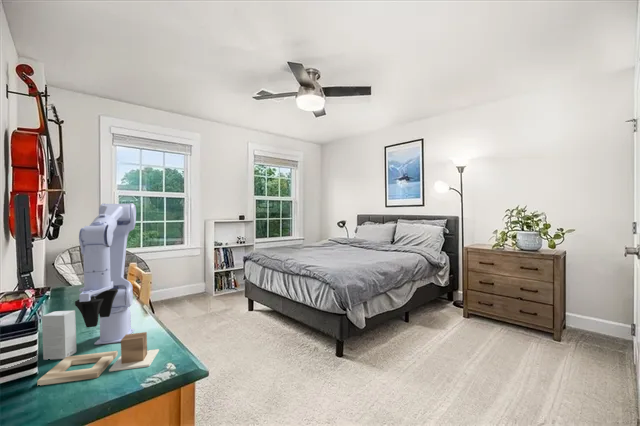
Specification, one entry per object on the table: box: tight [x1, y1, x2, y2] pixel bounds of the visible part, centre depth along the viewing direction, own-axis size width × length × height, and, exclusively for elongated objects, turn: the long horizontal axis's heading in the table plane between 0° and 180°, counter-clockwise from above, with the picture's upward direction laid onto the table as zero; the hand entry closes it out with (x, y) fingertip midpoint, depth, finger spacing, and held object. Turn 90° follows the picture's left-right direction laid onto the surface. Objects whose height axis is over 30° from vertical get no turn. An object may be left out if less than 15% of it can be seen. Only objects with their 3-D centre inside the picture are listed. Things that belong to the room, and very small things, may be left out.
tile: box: [108, 348, 160, 373], centre depth 81 cm, size 9×9×1 cm
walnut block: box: [120, 331, 148, 364], centre depth 81 cm, size 4×5×6 cm
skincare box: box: [41, 310, 77, 361], centre depth 85 cm, size 6×4×12 cm
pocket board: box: [36, 350, 119, 386], centre depth 77 cm, size 12×12×1 cm
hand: (98, 321), depth 82 cm, fingers open, 7 cm apart
